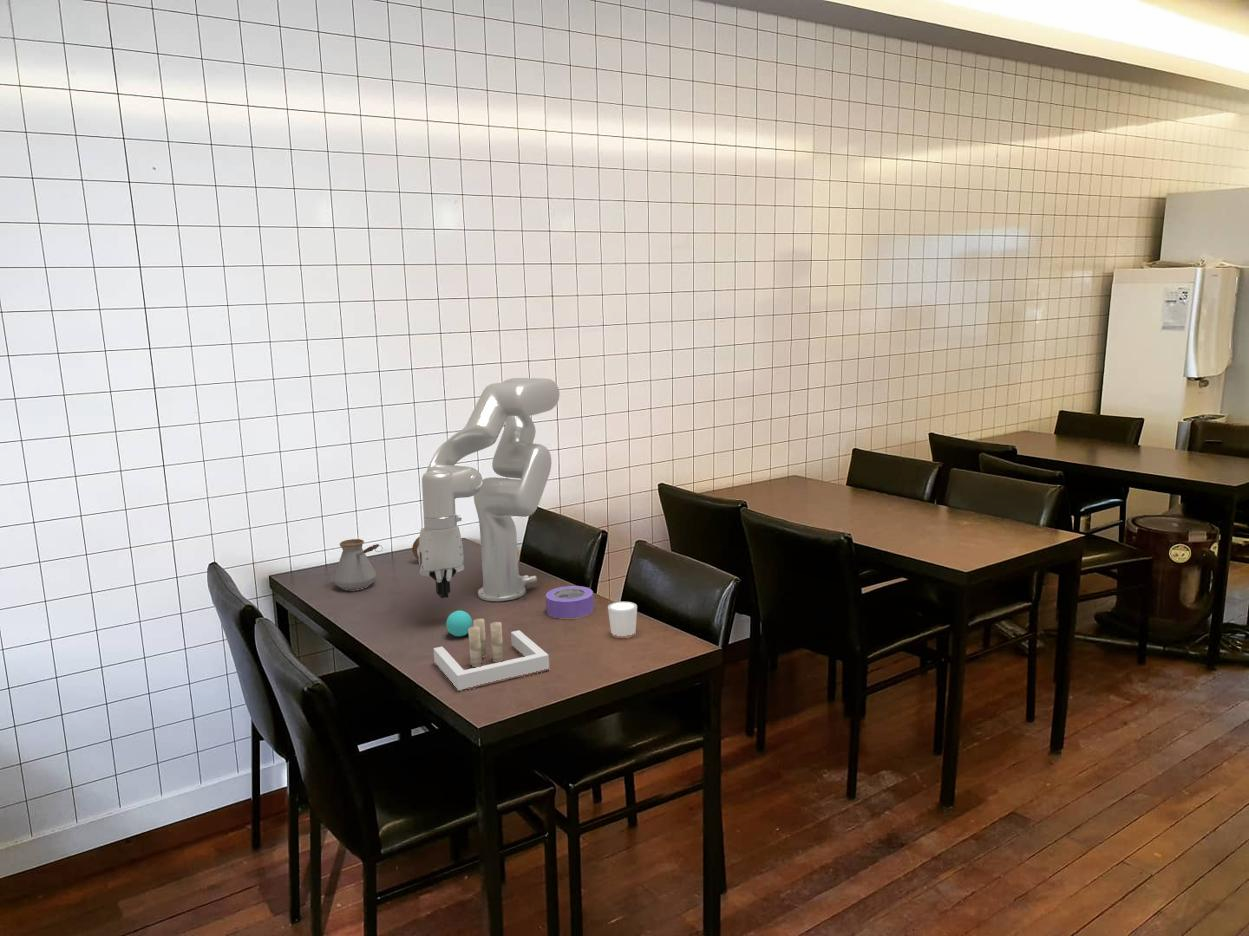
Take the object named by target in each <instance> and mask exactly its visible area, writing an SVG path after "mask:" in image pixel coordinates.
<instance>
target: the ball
mask: <svg viewBox="0 0 1249 936" xmlns="http://www.w3.org/2000/svg"><path fill="white" fill-rule="evenodd" d="M445 624H446V629H447V631H448V632H449V633H450V635H452V636H454V637H464V636H466V635H467V634H469V633H468V628H470V627H473V620H472V617H471V615H470V614H469V613H468V612H466V611H464V610H455V611H453V612H451V613H450V614H449V615H448V617H447V619H446V623H445Z"/></svg>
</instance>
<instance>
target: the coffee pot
mask: <svg viewBox="0 0 1249 936" xmlns="http://www.w3.org/2000/svg"><path fill="white" fill-rule="evenodd" d="M364 543H365V541H364V539H362V538H361V539H360V538H359V539H358V538H352V539H345V540H343V541H341V542H339V546H340V548H341V549H342V552H341V554H340V557H339V561H338V564H337V566H336V571H335V573H334V576H333V582H334V584H335V585H337V587H338V588H341V589H342V588H343V589H347V590H356V589H361V588H365V587H367V586H369V585H370V586H371V584H373V583H374V582H375V580H376V578H377V573H376V570H375V569H374V567H373V565H372V563H371V562H370V560H369V558H368V556H367V555H366V554H367V553H370V552H372V551H375V552H377V553H380V552H382V551H383V549H384V548H383V546H382V545H381V544H379V543H378V544H377V543H376V544H373V545H371V546H368V547H367V548H365V549H363V544H364ZM379 546H380V547H381V550H379V551H378V550H376V549H378V548H379ZM370 586H369V587H370ZM343 589H342V590H343Z"/></svg>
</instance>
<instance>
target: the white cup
mask: <svg viewBox="0 0 1249 936" xmlns="http://www.w3.org/2000/svg"><path fill="white" fill-rule="evenodd" d="M607 611H608V617H609V619H608V620H609V625H610V634H611V633H612V634H613V635H617V636H627V635H632V634H634V633H635V634H636V630H637V629H636V628H637V615H638V614H637V613H638V612H637V611H638V605H637V604H636V603H634V602H631V601H615V602H612V603H610V604H608V605H607Z"/></svg>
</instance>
